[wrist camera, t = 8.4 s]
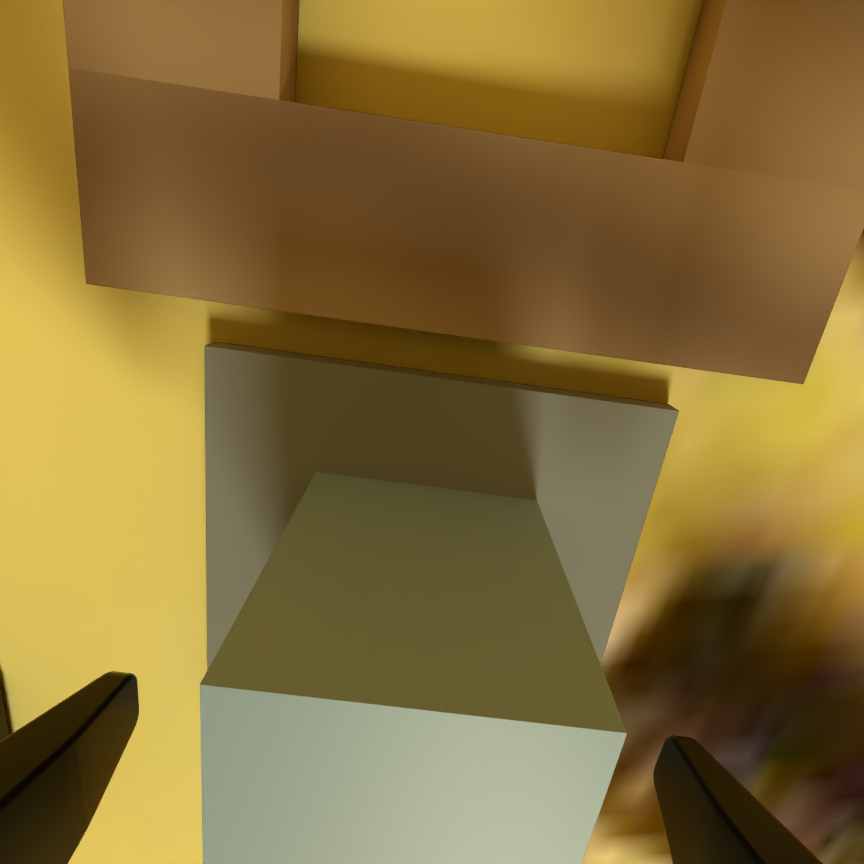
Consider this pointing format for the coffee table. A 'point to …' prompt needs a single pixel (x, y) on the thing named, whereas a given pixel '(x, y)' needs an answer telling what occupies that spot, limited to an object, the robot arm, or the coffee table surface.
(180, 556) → the coffee table surface
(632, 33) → the coffee table surface
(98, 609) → the coffee table surface
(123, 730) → the robot arm
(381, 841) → the slate block
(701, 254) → the walnut pocket plate
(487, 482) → the rubber mat
